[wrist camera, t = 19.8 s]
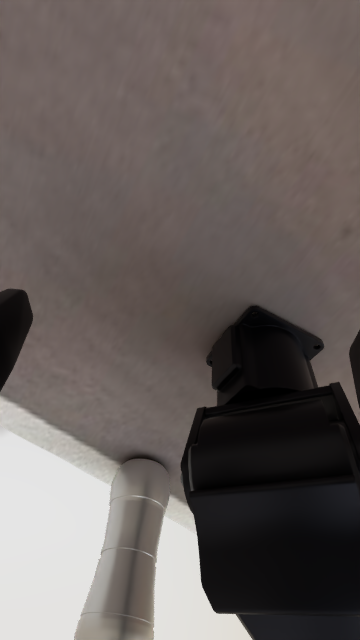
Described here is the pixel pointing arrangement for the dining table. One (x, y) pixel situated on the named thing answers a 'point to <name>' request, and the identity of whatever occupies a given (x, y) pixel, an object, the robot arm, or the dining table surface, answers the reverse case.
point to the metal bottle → (128, 556)
